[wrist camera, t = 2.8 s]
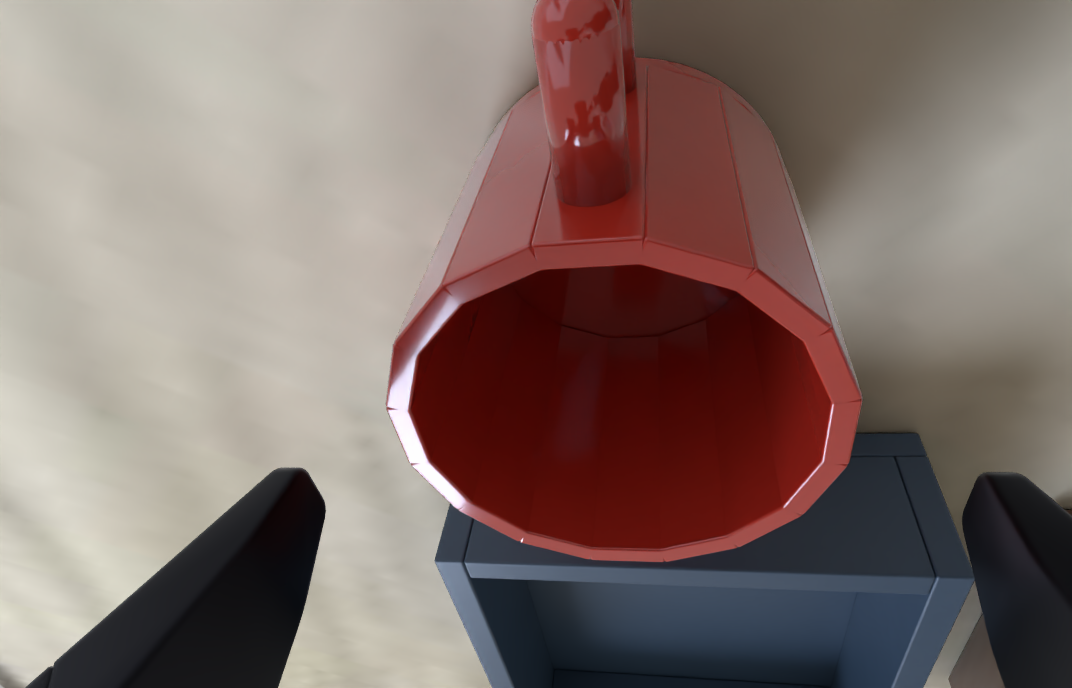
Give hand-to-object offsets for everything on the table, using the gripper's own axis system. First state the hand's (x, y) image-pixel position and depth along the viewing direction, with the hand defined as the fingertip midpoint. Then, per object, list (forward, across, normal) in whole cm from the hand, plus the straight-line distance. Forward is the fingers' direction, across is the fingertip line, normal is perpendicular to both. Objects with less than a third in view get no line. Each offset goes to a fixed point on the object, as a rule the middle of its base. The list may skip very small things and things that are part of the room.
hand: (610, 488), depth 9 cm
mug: (+8, 0, -1) cm, 8 cm away
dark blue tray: (+8, -1, +15) cm, 16 cm away
